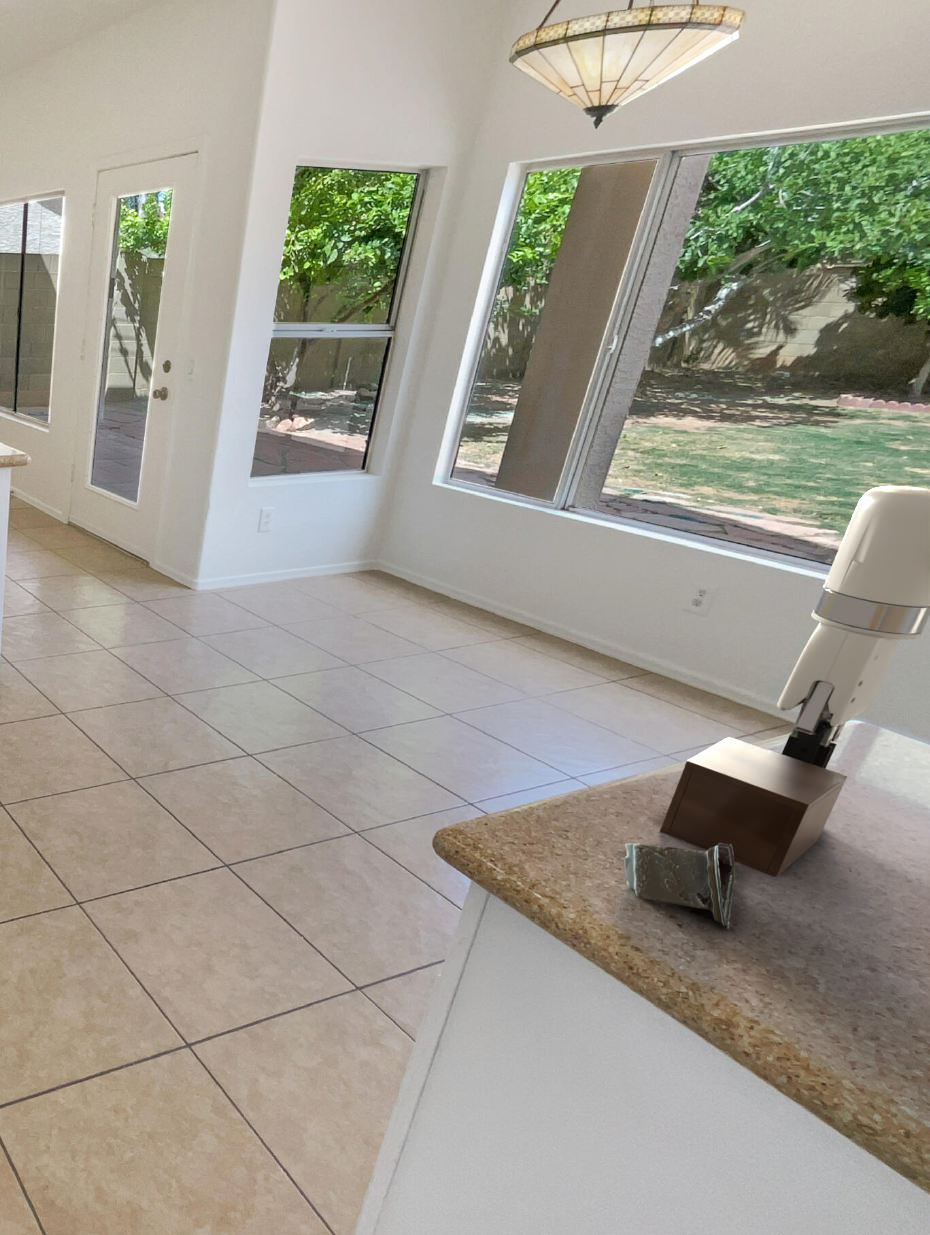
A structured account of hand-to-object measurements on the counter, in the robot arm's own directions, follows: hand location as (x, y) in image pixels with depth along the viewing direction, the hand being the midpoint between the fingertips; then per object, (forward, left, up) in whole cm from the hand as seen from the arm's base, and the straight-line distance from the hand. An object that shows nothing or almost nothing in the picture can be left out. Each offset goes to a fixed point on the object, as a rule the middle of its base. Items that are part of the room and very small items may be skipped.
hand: (798, 771), depth 90 cm
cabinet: (+10, +9, -4) cm, 14 cm away
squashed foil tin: (+21, +18, -4) cm, 28 cm away
